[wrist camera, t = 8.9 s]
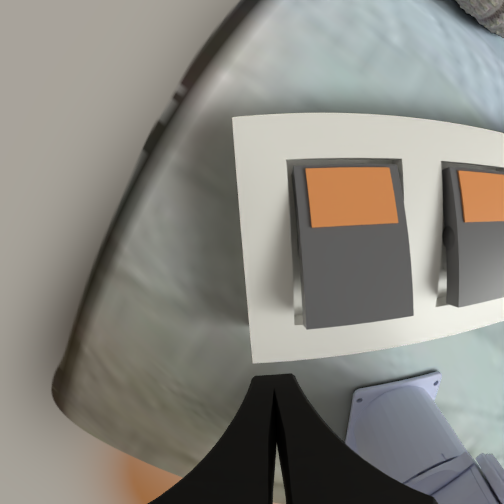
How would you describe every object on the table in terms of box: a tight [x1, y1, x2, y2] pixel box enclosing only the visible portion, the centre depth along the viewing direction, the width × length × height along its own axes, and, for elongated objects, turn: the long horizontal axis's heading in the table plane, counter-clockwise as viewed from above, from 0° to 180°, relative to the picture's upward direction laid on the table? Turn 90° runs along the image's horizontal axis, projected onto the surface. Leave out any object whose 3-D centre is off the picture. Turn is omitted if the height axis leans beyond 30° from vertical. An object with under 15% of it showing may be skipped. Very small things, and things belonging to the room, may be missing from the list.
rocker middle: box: [442, 167, 504, 308], centre depth 13 cm, size 7×5×2 cm
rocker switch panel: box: [232, 113, 504, 363], centre depth 15 cm, size 12×26×4 cm, turn 94°
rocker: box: [291, 164, 414, 330], centre depth 13 cm, size 7×5×2 cm
